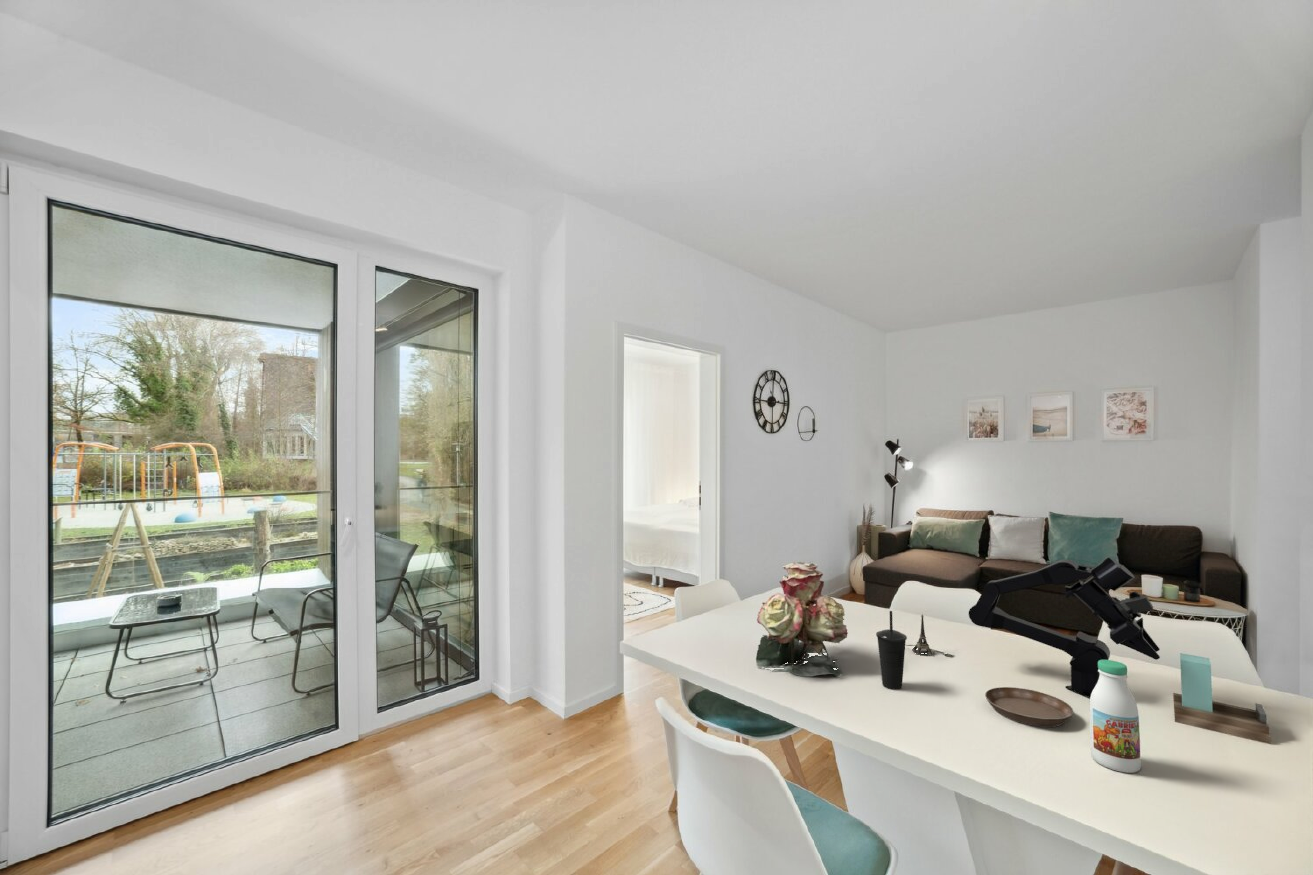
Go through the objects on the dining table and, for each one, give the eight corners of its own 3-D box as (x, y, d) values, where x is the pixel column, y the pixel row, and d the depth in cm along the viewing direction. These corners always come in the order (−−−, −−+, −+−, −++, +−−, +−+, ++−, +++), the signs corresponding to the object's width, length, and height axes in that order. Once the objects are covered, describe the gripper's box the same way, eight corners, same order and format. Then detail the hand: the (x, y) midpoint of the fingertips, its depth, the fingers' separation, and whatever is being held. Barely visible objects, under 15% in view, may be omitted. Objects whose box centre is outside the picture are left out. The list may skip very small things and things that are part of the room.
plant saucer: (968, 704, 138) (968, 692, 138) (1018, 693, 144) (1017, 681, 144) (1039, 738, 122) (1039, 724, 122) (1091, 724, 128) (1091, 710, 128)
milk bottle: (1081, 753, 115) (1078, 656, 115) (1115, 752, 115) (1112, 655, 116) (1115, 775, 107) (1111, 670, 108) (1151, 773, 108) (1148, 669, 108)
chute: (1174, 721, 128) (1174, 699, 128) (1173, 702, 138) (1172, 682, 138) (1270, 744, 118) (1269, 720, 118) (1262, 722, 128) (1261, 700, 128)
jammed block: (1182, 711, 130) (1180, 659, 130) (1181, 702, 134) (1180, 653, 135) (1212, 718, 127) (1210, 665, 127) (1210, 709, 131) (1209, 658, 131)
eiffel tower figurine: (956, 657, 171) (955, 614, 171) (939, 665, 165) (939, 619, 165) (910, 644, 183) (909, 603, 183) (893, 650, 177) (892, 608, 177)
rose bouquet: (751, 674, 157) (750, 568, 158) (769, 641, 184) (768, 551, 185) (846, 687, 148) (844, 575, 149) (850, 651, 175) (849, 556, 176)
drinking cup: (907, 683, 150) (906, 609, 151) (907, 694, 144) (906, 616, 144) (877, 678, 154) (876, 606, 154) (876, 688, 147) (874, 613, 147)
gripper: (1126, 589, 132) (1191, 646, 125) (1128, 576, 146) (1187, 626, 139) (1085, 616, 137) (1146, 672, 130) (1091, 601, 151) (1146, 651, 144)
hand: (1158, 654), depth 135 cm, fingers open, 7 cm apart
